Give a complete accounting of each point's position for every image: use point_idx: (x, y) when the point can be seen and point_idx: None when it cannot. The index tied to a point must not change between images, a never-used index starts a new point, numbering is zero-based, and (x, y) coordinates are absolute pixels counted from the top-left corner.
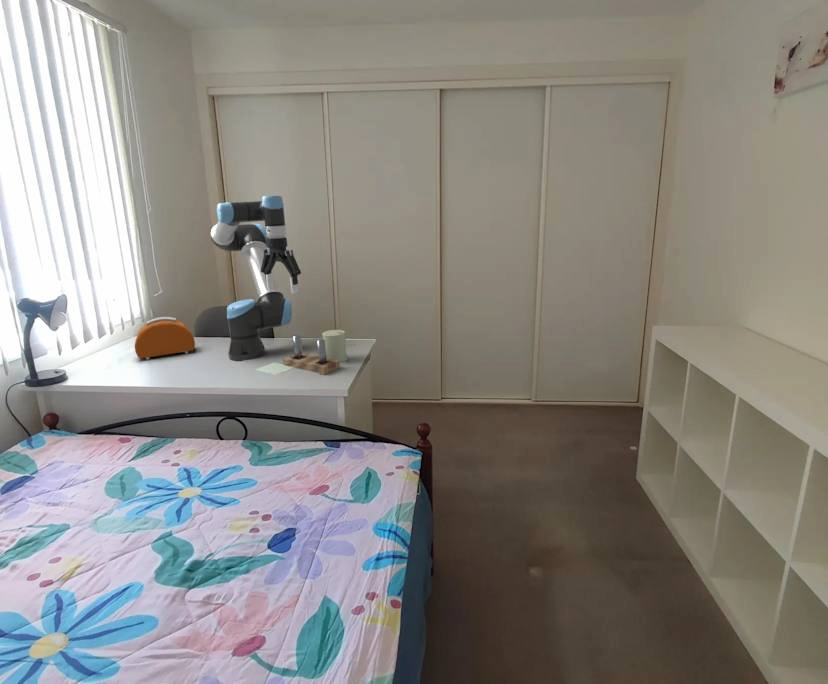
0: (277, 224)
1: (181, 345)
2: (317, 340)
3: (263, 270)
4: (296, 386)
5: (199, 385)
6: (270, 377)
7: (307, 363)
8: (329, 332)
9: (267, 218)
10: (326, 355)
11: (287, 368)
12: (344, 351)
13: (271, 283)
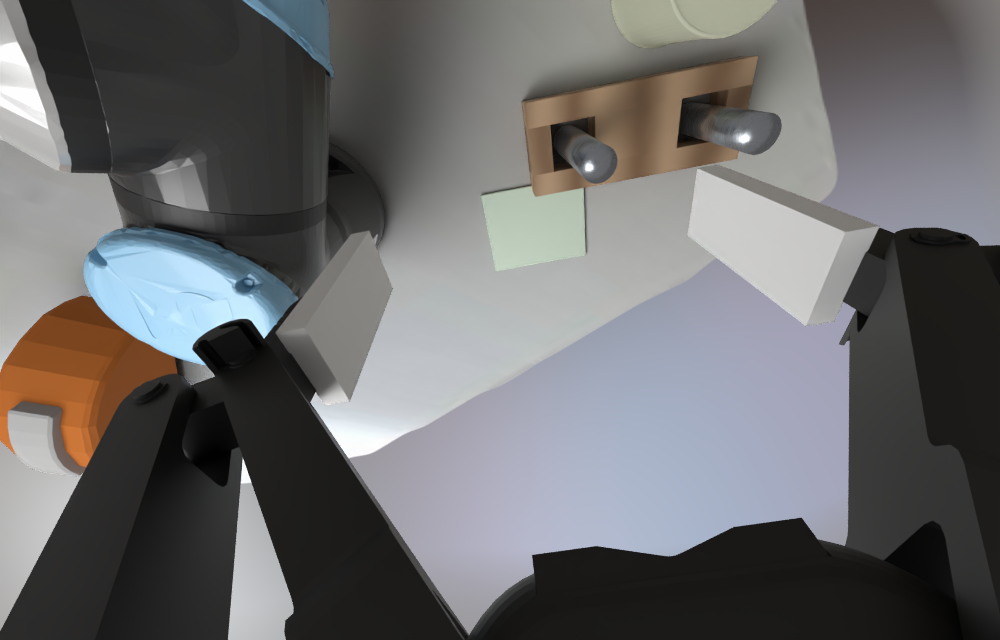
0: None
1: (157, 352)
2: (749, 150)
3: (235, 451)
4: (697, 260)
5: (484, 383)
6: (581, 268)
7: (655, 169)
8: None
9: None
10: (663, 44)
11: (572, 201)
12: None
13: (359, 285)
